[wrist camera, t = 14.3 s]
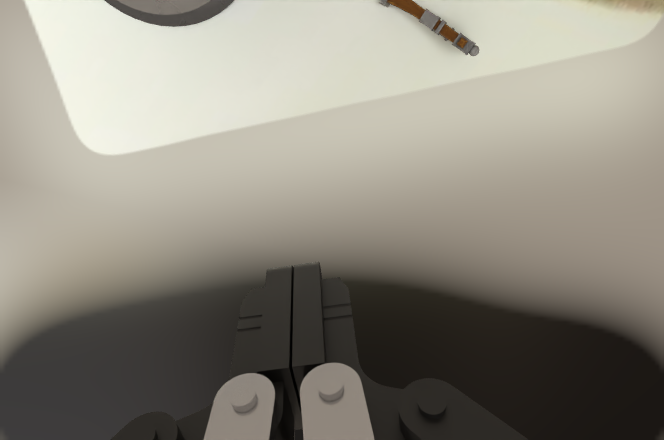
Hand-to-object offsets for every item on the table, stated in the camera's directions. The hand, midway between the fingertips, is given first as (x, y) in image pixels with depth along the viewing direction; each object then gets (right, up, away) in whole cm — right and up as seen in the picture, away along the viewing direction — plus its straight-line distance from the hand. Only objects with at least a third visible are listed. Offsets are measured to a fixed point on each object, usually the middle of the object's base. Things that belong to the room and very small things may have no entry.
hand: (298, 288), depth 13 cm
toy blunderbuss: (+8, +18, +22) cm, 29 cm away
